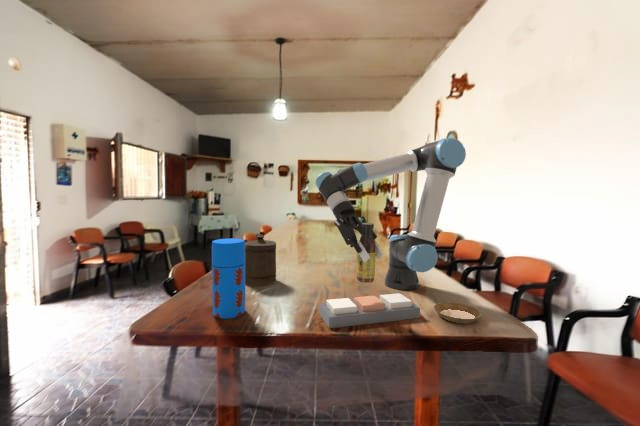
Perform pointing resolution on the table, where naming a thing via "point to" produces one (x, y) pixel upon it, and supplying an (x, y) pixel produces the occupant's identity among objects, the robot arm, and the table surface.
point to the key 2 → (395, 301)
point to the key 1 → (341, 306)
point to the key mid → (369, 303)
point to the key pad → (367, 316)
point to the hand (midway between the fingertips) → (374, 258)
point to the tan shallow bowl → (456, 306)
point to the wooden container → (260, 262)
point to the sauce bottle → (368, 268)
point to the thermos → (228, 278)
